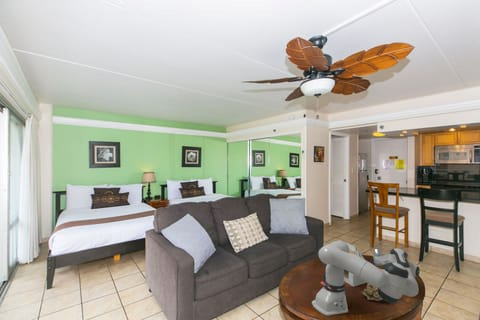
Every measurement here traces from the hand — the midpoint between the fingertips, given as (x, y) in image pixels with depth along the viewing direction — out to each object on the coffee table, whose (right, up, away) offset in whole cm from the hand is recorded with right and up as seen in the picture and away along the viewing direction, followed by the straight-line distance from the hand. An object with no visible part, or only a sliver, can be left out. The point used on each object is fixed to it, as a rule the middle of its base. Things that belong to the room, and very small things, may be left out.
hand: (376, 255), depth 177 cm
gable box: (-25, -17, -3) cm, 30 cm away
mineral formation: (-19, -16, -30) cm, 39 cm away
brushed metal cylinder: (0, -6, -1) cm, 7 cm away
